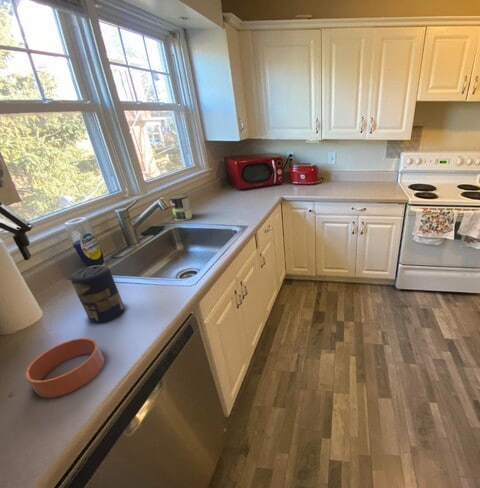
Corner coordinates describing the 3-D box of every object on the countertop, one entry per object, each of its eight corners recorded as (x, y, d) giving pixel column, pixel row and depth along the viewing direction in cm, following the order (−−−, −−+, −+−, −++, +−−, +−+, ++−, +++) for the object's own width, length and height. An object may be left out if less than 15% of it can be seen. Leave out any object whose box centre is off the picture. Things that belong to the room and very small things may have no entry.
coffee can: (177, 222, 168) (171, 199, 161) (172, 217, 175) (166, 196, 168) (195, 218, 174) (190, 196, 168) (189, 214, 181) (184, 192, 175)
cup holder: (33, 378, 70) (22, 361, 68) (97, 346, 80) (89, 330, 77) (42, 411, 63) (30, 393, 60) (112, 372, 72) (104, 355, 69)
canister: (82, 323, 89) (58, 274, 81) (110, 304, 97) (90, 259, 89) (107, 327, 87) (84, 278, 79) (132, 308, 95) (114, 262, 87)
